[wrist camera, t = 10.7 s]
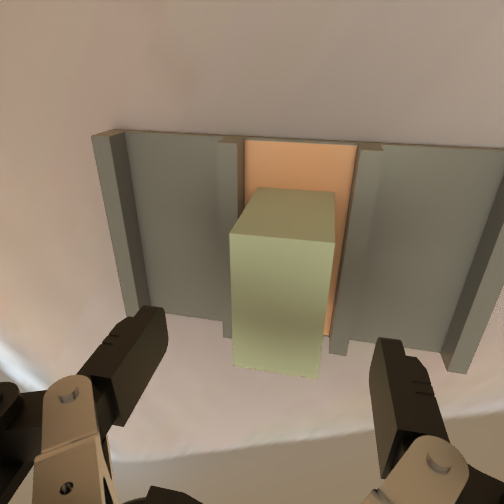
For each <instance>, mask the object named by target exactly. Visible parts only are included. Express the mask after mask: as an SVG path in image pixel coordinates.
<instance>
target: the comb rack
mask: <svg viewBox="0 0 504 504" xmlns="http://www.w3.org/2000/svg"><path fill="white" fill-rule="evenodd" d="M91 139H92V144H93V149H94V154H95V159H96V164H97V169H98V174H99V179H100V184H101V189H102V195H103V200H104V205H105V210H106V215H107V220H108V225H109V230H110V235H111V240H112V245H113V250H114V255H115V260H116V265H117V271H118V276H119V281H120V286H121V291H122V296H123V301H124V306H125V311H126V316H127V317H128V316H130V317H134V316H135V314H136V313H137V312H138V311H139V309H140V308H141V307H142V306H143V305H148V306H156V307H162V308H164V311H165V313H169V314H176V315H182V316H189V317H196V318H203V319H210V320H217V321H223V337H225V338H232V309H231V275H230V241H229V233H230V231H231V230H232V228H233V227H234V225H235V223H236V222H237V220H238V219H239V217H240V215H241V214H242V212H243V211H244V209H245V207H246V206H247V204H248V203H249V201H250V199H251V198H252V196H253V195H254V193H255V191H256V190H257V188H258V187H266V188H281V189H296V190H311V191H326V192H335V248H334V256H333V264H332V271H331V279H330V287H329V295H328V302H327V310H326V318H325V326H324V334H323V336H328V337H329V353H330V354H337V355H343V356H346V354H347V349H348V344H349V340H356V341H363V342H370V343H376V341H377V339H378V337H383V338H391V339H398V340H401V341H402V343H403V347H404V348H411V349H418V350H425V351H432V352H439V353H440V354H441V356H442V359H443V362H444V364H445V367H446V370H447V371H448V372H455V373H461V374H467V371H468V369H469V366H470V364H471V362H472V359H473V357H474V354H475V352H476V350H477V347H478V345H479V342H480V340H481V338H482V335H483V333H484V330H485V328H486V326H487V323H488V321H489V318H490V316H491V314H492V311H493V309H494V306H495V304H496V302H497V299H498V297H499V295H500V292H501V290H502V287H503V285H504V149H498V148H477V147H457V146H436V145H416V144H396V143H375V142H355V141H334V140H314V139H294V138H273V137H253V136H232V135H212V134H192V133H171V132H151V131H131V130H109V131H106V132H102V133H99V134H95V135H92V136H91Z"/></svg>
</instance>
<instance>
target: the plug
mask: <svg viewBox="0 0 504 504" xmlns="http://www.w3.org/2000/svg"><path fill="white" fill-rule="evenodd" d="M229 241H230V275H231V309H232V343H233V366H237V367H244V368H250V369H256V370H262V371H269V372H275V373H281V374H287V375H294V376H300V377H306V378H312V379H318V372H319V365H320V357H321V349H322V341H323V334H324V326H325V318H326V310H327V302H328V295H329V287H330V279H331V271H332V264H333V256H334V248H335V192H326V191H311V190H296V189H281V188H266V187H258V188H257V190H256V191H255V193H254V195H253V196H252V198H251V199H250V201H249V203H248V204H247V206H246V207H245V209H244V211H243V212H242V214H241V215H240V217H239V219H238V220H237V222H236V223H235V225H234V227H233V228H232V230H231V231H230V233H229Z"/></svg>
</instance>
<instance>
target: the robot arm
mask: <svg viewBox="0 0 504 504" xmlns="http://www.w3.org/2000/svg"><path fill="white" fill-rule="evenodd" d="M167 346H168V331H167V324H166V317H165V311H164V308H162V307H156V306H148V305H143V306H142V307H141V308H140V309H139V311H138V312H137V313H136V314H135V316H134V317H130V316H128V317H127V318H125V319H124V320H122V321H121V322H119V323H118V324H116V326H115V327H114V328H113V329H112V331H111V332H110V333H109V336H107V337H106V338H105V339H104V340H103V342H102V344H100V345H99V347H98V348H97V349H96V350H95V352H94V353H93V354H92V355H91V357H90V358H89V359H88V360H87V362H86V363H85V364H84V365H83V367H82V368H81V369H80V370H79V372H78V373H77V374H76V375H71V376H67V377H64V378H62V379H60V380H58V381H57V382H55V383H54V384H53V385H51V386H50V387H49V388H48V390H44V391H35V392H26V393H20V391H19V389H18V387H17V385H16V384H14V383H11V382H0V504H8V502H9V501H10V499H11V498H12V496H13V495H14V493H15V492H16V490H17V489H18V487H19V486H20V484H21V483H22V481H23V480H24V478H25V477H26V476H27V474H28V473H29V471H30V470H31V468H32V467H33V465H34V472H33V493H32V504H118V500H117V495H116V491H115V484H114V477H113V470H112V463H111V456H110V449H109V442H108V436H107V433H108V431H109V429H110V428H111V426H112V425H116V426H121V427H124V426H125V424H126V422H127V420H128V419H129V417H130V415H131V413H132V411H133V410H134V408H135V406H136V404H137V402H138V401H139V399H140V397H141V395H142V394H143V392H144V390H145V388H146V386H147V385H148V383H149V381H150V379H151V377H152V376H153V374H154V372H155V370H156V369H157V367H158V365H159V363H160V361H161V360H162V358H163V356H164V354H165V352H166V350H167ZM369 387H370V395H371V403H372V411H373V419H374V427H375V435H376V443H377V451H378V459H379V466H380V475H381V479H385V481H384V482H383V483H382V485H381V486H380V487H379V488H378V489H377V490H376V489H374V490H372V491H371V492H370V493H369V494H368V496H367V497H366V498H365V500H364V501H363V502H362V504H504V482H502V481H499V480H497V479H495V478H493V477H491V476H488V475H487V474H484V473H482V472H480V471H478V470H476V469H475V468H473V467H472V466H470V465H469V464H468V463H466V461H465V459H464V457H463V456H462V454H461V453H460V452H459V451H458V450H457V449H456V448H455V447H454V446H452V445H451V443H450V441H449V438H448V435H447V432H446V429H445V426H444V423H443V419H442V416H441V413H440V410H439V407H438V404H437V400H436V397H434V395H435V394H434V391H433V388H432V386H431V382H430V378H429V375H428V372H427V369H426V368H425V367H424V366H423V365H422V363H421V362H420V361H419V360H418V358H417V357H411V356H406V355H405V351H404V347H403V343H402V341H401V340H398V339H391V338H383V337H378V339H377V341H376V346H375V350H374V354H373V358H372V362H371V366H370V373H369ZM123 504H202V503H201V502H199V501H197V500H196V499H194V498H192V497H191V496H189V495H187V494H185V493H183V492H178V491H174V490H169V489H165V488H160V487H156V486H151V487H150V489H149V491H148V494H147V496H146V497H143V498H138V499H133V500H131V501H128V502H125V503H123Z"/></svg>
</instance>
